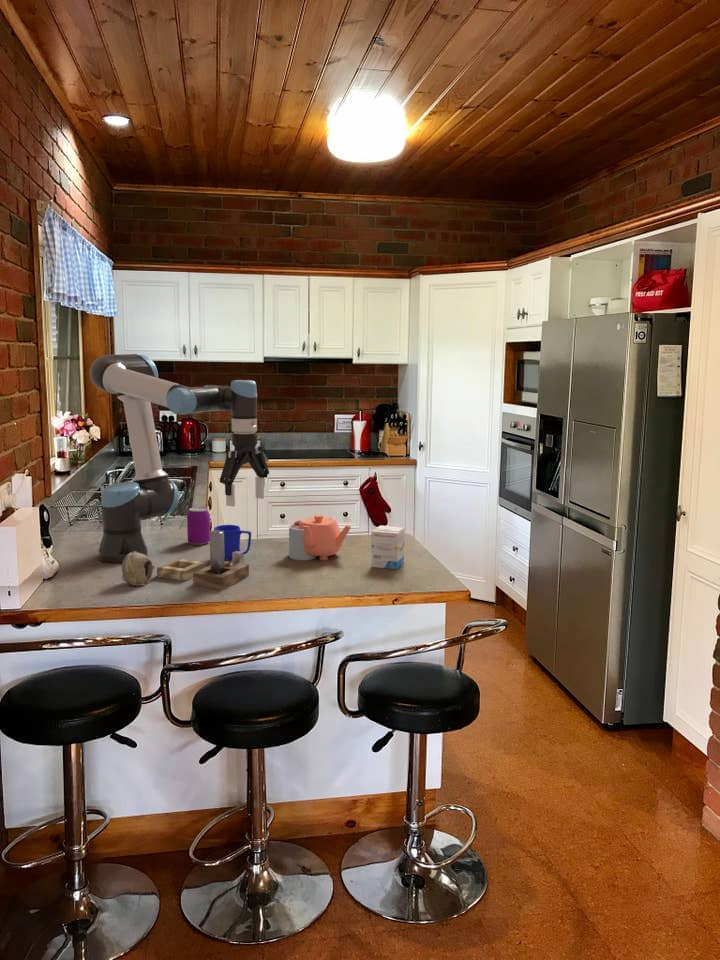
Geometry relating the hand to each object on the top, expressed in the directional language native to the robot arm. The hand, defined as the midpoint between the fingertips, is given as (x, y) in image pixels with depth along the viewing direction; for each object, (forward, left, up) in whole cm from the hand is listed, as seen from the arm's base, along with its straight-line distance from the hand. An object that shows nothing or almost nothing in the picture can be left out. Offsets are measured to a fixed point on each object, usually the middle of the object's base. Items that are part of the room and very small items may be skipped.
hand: (245, 502), depth 233 cm
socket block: (0, -14, -21) cm, 25 cm away
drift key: (0, -8, -21) cm, 22 cm away
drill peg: (0, -16, -21) cm, 26 cm away
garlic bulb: (-20, -26, -21) cm, 39 cm away
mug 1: (-9, +7, -21) cm, 24 cm away
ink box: (+39, +21, -21) cm, 49 cm away
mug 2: (+13, +18, -21) cm, 30 cm away
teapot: (+15, +20, -21) cm, 33 cm away
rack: (-14, -14, -21) cm, 29 cm away
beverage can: (-30, +18, -21) cm, 41 cm away
